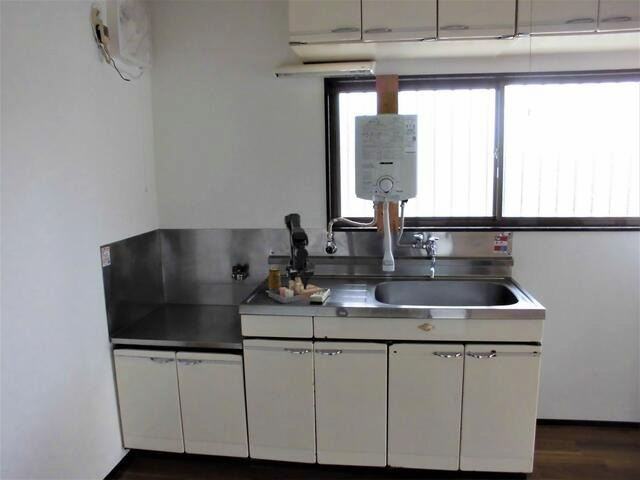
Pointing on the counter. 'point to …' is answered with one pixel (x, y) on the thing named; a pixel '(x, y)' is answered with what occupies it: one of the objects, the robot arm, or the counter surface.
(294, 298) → the tray
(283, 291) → the tile terracotta
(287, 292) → the tile cream
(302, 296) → the plate
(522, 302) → the counter surface
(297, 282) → the t-shaped wooden block
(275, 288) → the condiment
